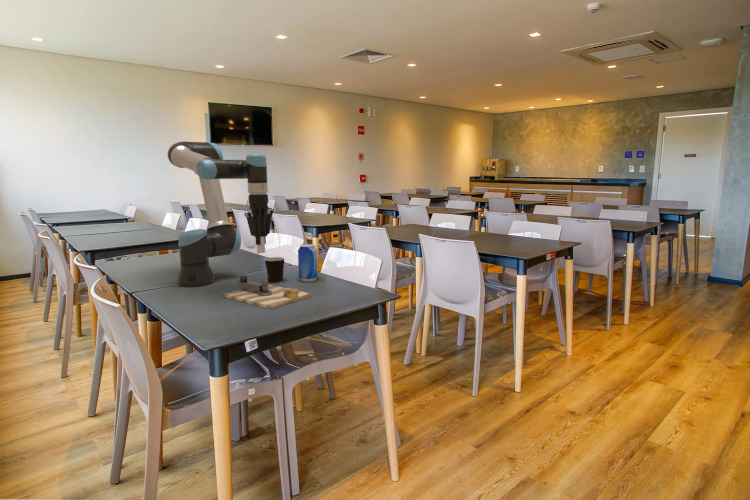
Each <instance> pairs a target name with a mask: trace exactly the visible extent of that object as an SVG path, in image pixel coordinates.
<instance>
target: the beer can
mask: <svg viewBox="0 0 750 500" xmlns="http://www.w3.org/2000/svg"><path fill="white" fill-rule="evenodd" d="M297 258H298V260H297V261H298V278H299V280H300V281H301V282H304V283H305V282H307V283H309V282H314V281H315V282H316V280H317V278H319V277H318V274H319V273H318V250H317V248H316V246H315V245H314V244H311V243H305V244H300V245H299V248H298V249H297Z"/></svg>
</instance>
